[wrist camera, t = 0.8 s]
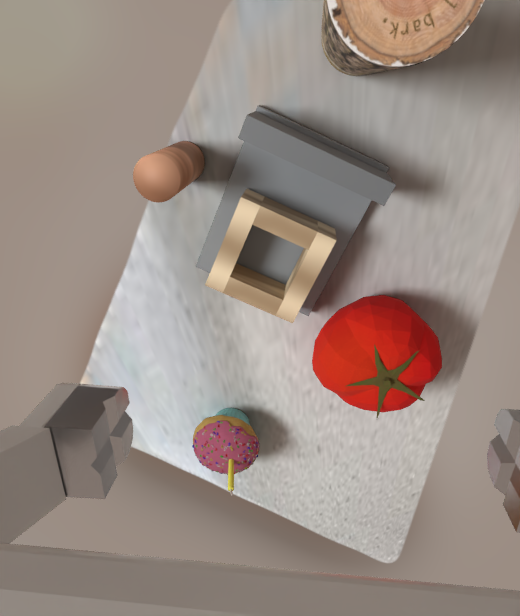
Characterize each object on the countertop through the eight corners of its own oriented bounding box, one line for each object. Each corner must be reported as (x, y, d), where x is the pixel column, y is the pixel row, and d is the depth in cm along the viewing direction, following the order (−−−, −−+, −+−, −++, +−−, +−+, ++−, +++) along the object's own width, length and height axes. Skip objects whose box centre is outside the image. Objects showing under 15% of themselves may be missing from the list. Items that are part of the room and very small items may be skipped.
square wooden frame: (246, 188, 47) (240, 196, 43) (335, 228, 48) (336, 240, 44) (212, 271, 51) (205, 285, 48) (294, 306, 52) (292, 323, 48)
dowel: (174, 134, 47) (140, 146, 38) (210, 151, 47) (185, 166, 38) (162, 171, 49) (127, 190, 40) (197, 186, 49) (170, 209, 40)
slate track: (259, 105, 45) (249, 108, 38) (387, 165, 46) (399, 179, 39) (198, 262, 53) (181, 287, 46) (308, 310, 54) (307, 342, 47)
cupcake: (267, 403, 61) (256, 472, 50) (258, 451, 64) (246, 524, 54) (203, 391, 61) (179, 457, 50) (198, 439, 65) (174, 510, 54)
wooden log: (408, 53, 42) (514, 16, 19) (337, 89, 43) (359, 95, 21) (382, -28, 39) (468, -177, 17) (309, 14, 41) (299, -69, 19)
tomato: (428, 368, 56) (453, 432, 45) (317, 375, 58) (317, 438, 47) (428, 274, 50) (457, 323, 40) (307, 286, 53) (304, 335, 42)
